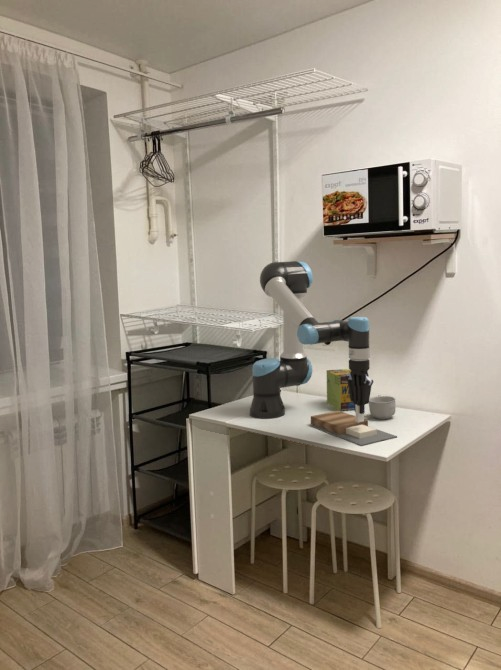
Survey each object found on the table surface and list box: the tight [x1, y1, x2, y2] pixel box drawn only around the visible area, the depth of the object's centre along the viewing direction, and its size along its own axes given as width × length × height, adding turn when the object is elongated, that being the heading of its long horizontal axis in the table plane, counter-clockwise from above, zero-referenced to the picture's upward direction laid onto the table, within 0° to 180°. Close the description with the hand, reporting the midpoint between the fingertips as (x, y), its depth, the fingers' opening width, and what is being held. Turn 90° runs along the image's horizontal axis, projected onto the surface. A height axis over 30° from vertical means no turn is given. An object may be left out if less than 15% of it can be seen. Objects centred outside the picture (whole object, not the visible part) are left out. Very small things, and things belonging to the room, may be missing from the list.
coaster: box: [346, 425, 378, 439], centre depth 215 cm, size 8×8×2 cm
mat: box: [310, 424, 398, 447], centre depth 220 cm, size 30×17×1 cm, turn 30°
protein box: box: [326, 368, 355, 412], centre depth 256 cm, size 10×15×16 cm
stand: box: [310, 410, 369, 434], centre depth 226 cm, size 18×14×3 cm
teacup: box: [368, 394, 396, 420], centre depth 239 cm, size 14×11×8 cm
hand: (359, 421), depth 215 cm, fingers closed
